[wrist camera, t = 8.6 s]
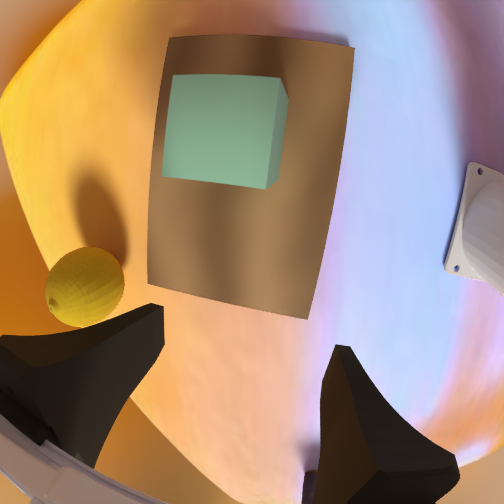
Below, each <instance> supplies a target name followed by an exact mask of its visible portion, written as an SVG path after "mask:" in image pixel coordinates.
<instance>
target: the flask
mask: <svg viewBox="0 0 504 504" xmlns="http://www.w3.org/2000/svg"><path fill="white" fill-rule="evenodd" d="M317 473H318V470H311V471H309V470H308V472H306V473H305V476H304V482H303V492H302V504H312V500H313V496H314V491H315V485H316V479H317Z"/></svg>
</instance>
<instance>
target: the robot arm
mask: <svg viewBox="0 0 504 504" xmlns="http://www.w3.org/2000/svg"><path fill="white" fill-rule="evenodd" d="M478 169H480V174H478ZM456 265H458V266H457V269H456V270H454V267H455V266H456ZM444 270H445V271H446V272H447V273H449V274H452V275H457V276H462V277H466V278H471V279H475V280H480V281H484V282H488V283H489V284H490V285H491V286H492V287H493V288H495V289H496V290H497V291H498V292H499V293H500V294H501V295H502V296H503V297H504V174H502V173H499V172H497V171H495V170H493V169H490V168H488V167H486V166H483V165H481V164H478V163H476V162H470V163H469V164H468V166H467V172H466V178H465V184H464V189H463V194H462V199H461V204H460V208H459V212H458V217H457V221H456V225H455V229H454V233H453V236H452V240H451V244H450V247H449V250H448V254H447V257H446V260H445V264H444ZM164 345H165V340H164V306H160V305H157V304H153V303H150V304H146V305H144V306H141V307H139V308H136V309H134V310H131V311H129V312H127V313H124V314H122V315H119V316H117V317H114V318H112V319H109V320H106V321H103V322H101V323H98V324H95V325H92V326H89V327H85V328H82V329H78V330H74V331H69V332H63V333H56V334H50V335H40V336H39V335H37V336H16V335H2V336H1V337H0V472H1V473H2V474H3V475H4V476H5V477H6V478H7V479H9V480H10V481H11V482H12V483H13V484H14V485H15V486H16V487H18V488H19V489H20V490H21V491H22V492H23V493H24V494H26V495H27V496H28V497H29V498H30V499H32V500H31V502H30V503H29V504H169V503H166V502H164V501H161V500H158V499H156V498H153V497H151V496H148V495H146V494H144V493H141V492H139V491H136V490H134V489H132V488H130V487H128V486H125V485H123V484H121V483H119V482H117V481H115V480H113V479H111V478H109V477H107V476H105V475H103V474H102V473H100V472H98V471H96V470H94V467H95V464H96V461H97V459H98V456H99V454H100V451H101V449H102V447H103V444H104V442H105V440H106V438H107V436H108V433H109V432H110V430H111V428H112V426H113V424H114V422H115V420H116V418H117V416H118V414H119V413H120V411H121V409H122V407H123V406H124V404H125V402H126V401H127V399H128V398H129V396H130V395H131V394H132V392H133V391H134V390H135V388H136V387H137V386H138V384H139V383H140V382H141V380H142V379H143V378H144V376H145V375H146V374H147V372H148V371H149V370H150V368H151V367H152V366H153V364H154V363H155V361H156V360H157V358H158V356H159V354H160V352H161V350H162V348H163V347H164ZM320 439H321V446H320V459H319V466H318V473H317V479H316V485H315V491H314V496H313V500H312V504H436V503H435V502H436V501H437V500H439V499H440V498H442V497H443V496H444V495H445V494H447V493H448V492H449V491H450V490H451V489H452V488H453V487H454V486H455V485H456V484H457V483H458V481H459V479H460V473H459V469H458V465H457V461H456V458H455V455H454V454H452V453H450V452H449V451H447V450H445V449H443V448H442V447H440V446H438V445H436V444H435V443H433V442H432V441H430V440H429V439H428V438H426V437H425V436H423V435H422V434H421V433H419V432H418V431H417V430H416V429H414V428H413V427H412V426H411V425H410V424H409V423H408V422H407V421H405V420H404V419H403V418H402V417H401V416H400V415H399V414H398V413H397V412H396V411H395V410H394V408H393V407H392V406H391V405H390V404H389V403H388V402H387V401H386V399H385V398H384V397H383V396H382V394H381V393H380V392H379V390H378V389H377V388H376V386H375V385H374V384H373V382H372V381H371V379H370V378H369V376H368V375H367V373H366V372H365V370H364V369H363V367H362V365H361V364H360V362H359V360H358V359H357V357H356V355H355V354H354V352H353V350H352V349H351V347H350V346H343V345H337V344H336V345H335V348H334V350H333V353H332V356H331V359H330V362H329V364H328V367H327V370H326V372H325V375H324V378H323V380H322V388H321V397H320Z"/></svg>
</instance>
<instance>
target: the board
mask: <svg viewBox="0 0 504 504" xmlns="http://www.w3.org/2000/svg"><path fill="white" fill-rule="evenodd" d="M354 50H355V48H352V47H347V46H342V45H337V44H331V43H325V42H319V41H312V40H304V39H296V38H286V37H274V36H258V35H201V36H185V37H173V38H169V42H168V47H167V52H166V57H165V63H164V68H163V74H162V80H161V86H160V93H159V99H158V107H157V114H156V122H155V131H154V140H153V150H152V161H151V173H150V188H149V207H148V243H147V273H148V284H151V285H155V286H159V287H163V288H166V289H170V290H174V291H178V292H182V293H186V294H190V295H194V296H199V297H203V298H207V299H211V300H216V301H220V302H224V303H229V304H233V305H238V306H242V307H247V308H252V309H256V310H261V311H266V312H271V313H276V314H281V315H286V316H291V317H296V318H301V319H307V320H308V316H309V312H310V308H311V304H312V300H313V296H314V292H315V288H316V284H317V280H318V275H319V271H320V267H321V262H322V258H323V253H324V249H325V244H326V239H327V234H328V229H329V225H330V220H331V214H332V209H333V204H334V199H335V193H336V188H337V182H338V176H339V170H340V164H341V158H342V151H343V145H344V138H345V131H346V124H347V116H348V108H349V100H350V92H351V82H352V73H353V62H354ZM194 74H221V75H247V76H262V77H274V78H280V79H281V81H282V84H283V86H284V88H285V91H286V93H287V96H288V98H289V104H288V112H287V119H286V127H285V135H284V142H283V150H282V157H281V164H280V172H279V179H278V181H277V182H275V183H274V184H273V185H271V186H270V187H268V188H267V189H266V190H265V189H258V188H252V187H245V186H237V185H230V184H223V183H215V182H207V181H198V180H189V179H180V178H170V177H162V164H163V152H164V142H165V132H166V123H167V115H168V107H169V99H170V92H171V85H172V79H173V75H194Z"/></svg>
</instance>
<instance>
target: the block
mask: <svg viewBox="0 0 504 504" xmlns="http://www.w3.org/2000/svg"><path fill="white" fill-rule="evenodd" d="M288 104H289V98H288V96H287V93H286V91H285V88H284V86H283V84H282V81H281V79H280V78H274V77H262V76H247V75H221V74H194V75H173V79H172V85H171V92H170V99H169V107H168V115H167V123H166V132H165V142H164V152H163V164H162V177H170V178H180V179H189V180H198V181H207V182H215V183H223V184H230V185H237V186H245V187H252V188H258V189H265V190H266V189H267V188H268V187H270V186H271V185H273V184H274V183H275V182H277V181H278V179H279V172H280V164H281V157H282V150H283V142H284V135H285V127H286V119H287V112H288Z"/></svg>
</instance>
